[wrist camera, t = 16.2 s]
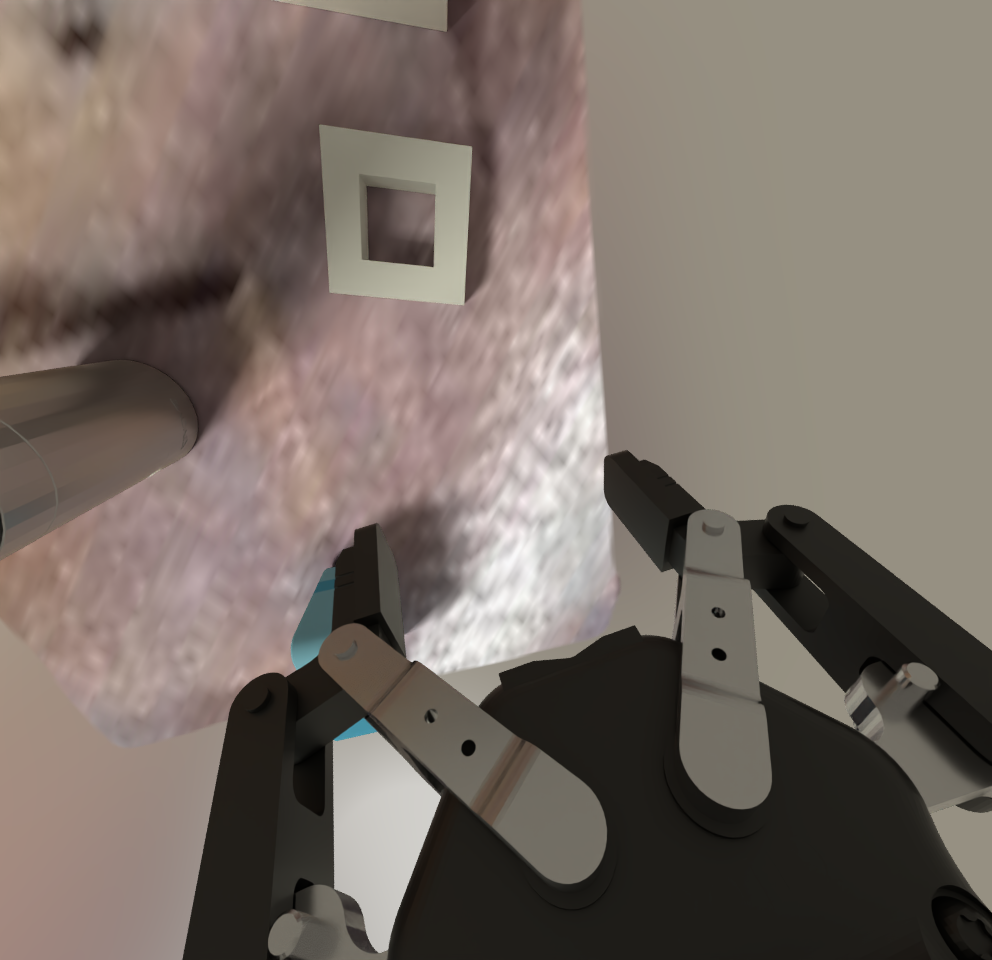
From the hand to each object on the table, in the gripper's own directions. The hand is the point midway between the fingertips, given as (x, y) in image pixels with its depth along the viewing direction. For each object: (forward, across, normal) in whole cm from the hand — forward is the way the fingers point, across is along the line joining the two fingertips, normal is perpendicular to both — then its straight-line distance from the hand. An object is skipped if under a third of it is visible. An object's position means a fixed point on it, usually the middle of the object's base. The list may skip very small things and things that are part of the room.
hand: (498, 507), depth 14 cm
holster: (+27, -1, -6) cm, 28 cm away
